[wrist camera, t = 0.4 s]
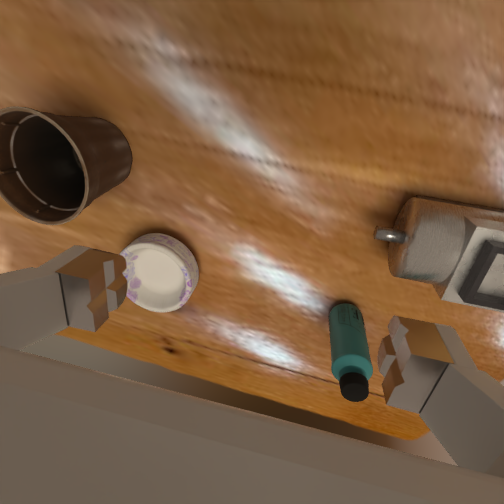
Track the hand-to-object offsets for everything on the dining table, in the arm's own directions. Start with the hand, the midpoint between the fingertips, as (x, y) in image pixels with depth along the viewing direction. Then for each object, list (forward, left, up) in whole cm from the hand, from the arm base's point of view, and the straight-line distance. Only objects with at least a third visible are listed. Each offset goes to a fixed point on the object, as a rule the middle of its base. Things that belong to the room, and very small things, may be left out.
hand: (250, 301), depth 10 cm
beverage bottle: (+32, +14, -47) cm, 58 cm away
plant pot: (+9, -36, -47) cm, 60 cm away
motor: (+12, +26, -46) cm, 54 cm away
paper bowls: (+29, -23, -47) cm, 59 cm away
